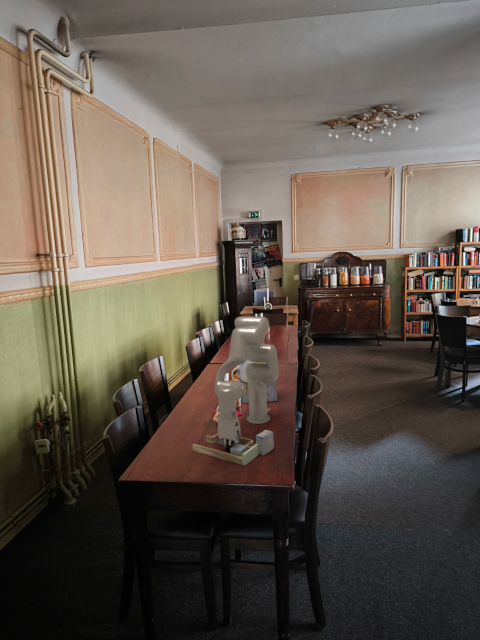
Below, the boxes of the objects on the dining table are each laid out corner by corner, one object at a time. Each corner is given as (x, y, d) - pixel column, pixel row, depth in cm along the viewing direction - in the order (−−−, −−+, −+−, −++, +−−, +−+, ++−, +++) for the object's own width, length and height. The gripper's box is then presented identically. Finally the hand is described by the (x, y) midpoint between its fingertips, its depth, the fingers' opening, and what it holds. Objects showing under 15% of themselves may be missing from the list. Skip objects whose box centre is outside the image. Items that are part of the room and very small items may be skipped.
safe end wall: (256, 454, 194) (256, 443, 193) (258, 454, 193) (258, 444, 193) (242, 465, 185) (242, 454, 184) (244, 465, 184) (244, 454, 183)
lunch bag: (240, 406, 255) (238, 362, 250) (239, 396, 271) (237, 355, 267) (278, 403, 255) (276, 360, 251) (275, 394, 272) (273, 353, 268)
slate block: (237, 453, 195) (237, 443, 195) (247, 456, 192) (247, 446, 191) (230, 458, 191) (230, 448, 190) (240, 461, 188) (240, 451, 187)
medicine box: (266, 446, 201) (265, 429, 200) (274, 449, 198) (273, 431, 197) (256, 453, 195) (255, 435, 194) (264, 456, 192) (263, 437, 191)
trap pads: (220, 438, 211) (220, 438, 211) (250, 446, 202) (250, 446, 202) (214, 442, 208) (214, 442, 208) (245, 450, 198) (245, 450, 198)
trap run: (215, 436, 215) (215, 430, 214) (263, 448, 199) (263, 442, 199) (192, 450, 200) (192, 444, 200) (242, 465, 185) (242, 458, 184)
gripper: (246, 414, 190) (248, 452, 193) (219, 408, 199) (221, 445, 202) (236, 420, 184) (238, 460, 187) (209, 413, 193) (211, 452, 196)
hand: (229, 452), depth 194 cm, fingers closed
